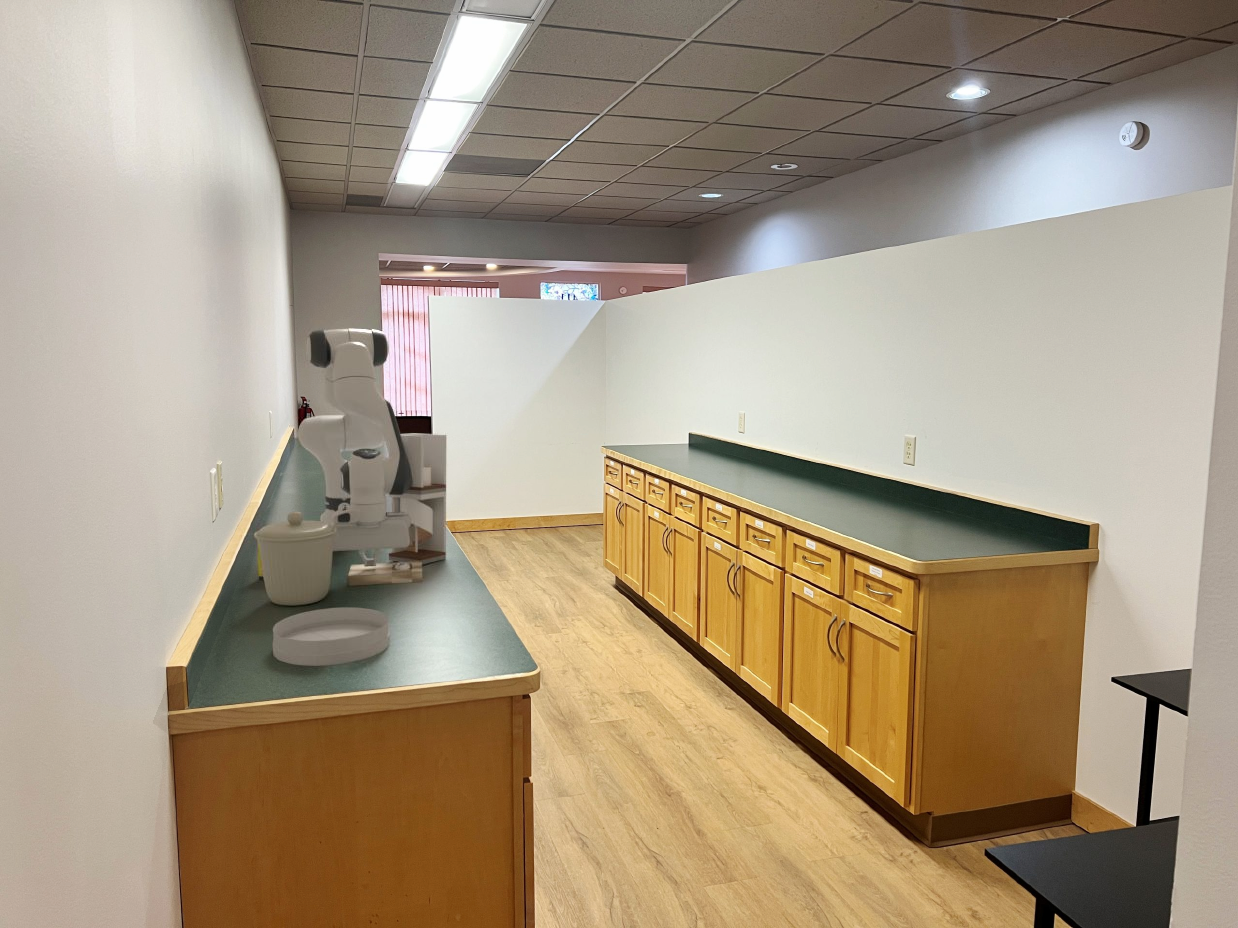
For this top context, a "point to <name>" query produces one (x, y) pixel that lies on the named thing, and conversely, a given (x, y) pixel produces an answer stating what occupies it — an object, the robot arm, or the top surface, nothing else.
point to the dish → (331, 636)
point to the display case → (424, 499)
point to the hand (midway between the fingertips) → (370, 565)
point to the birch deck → (384, 574)
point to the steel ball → (402, 566)
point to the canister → (296, 559)
